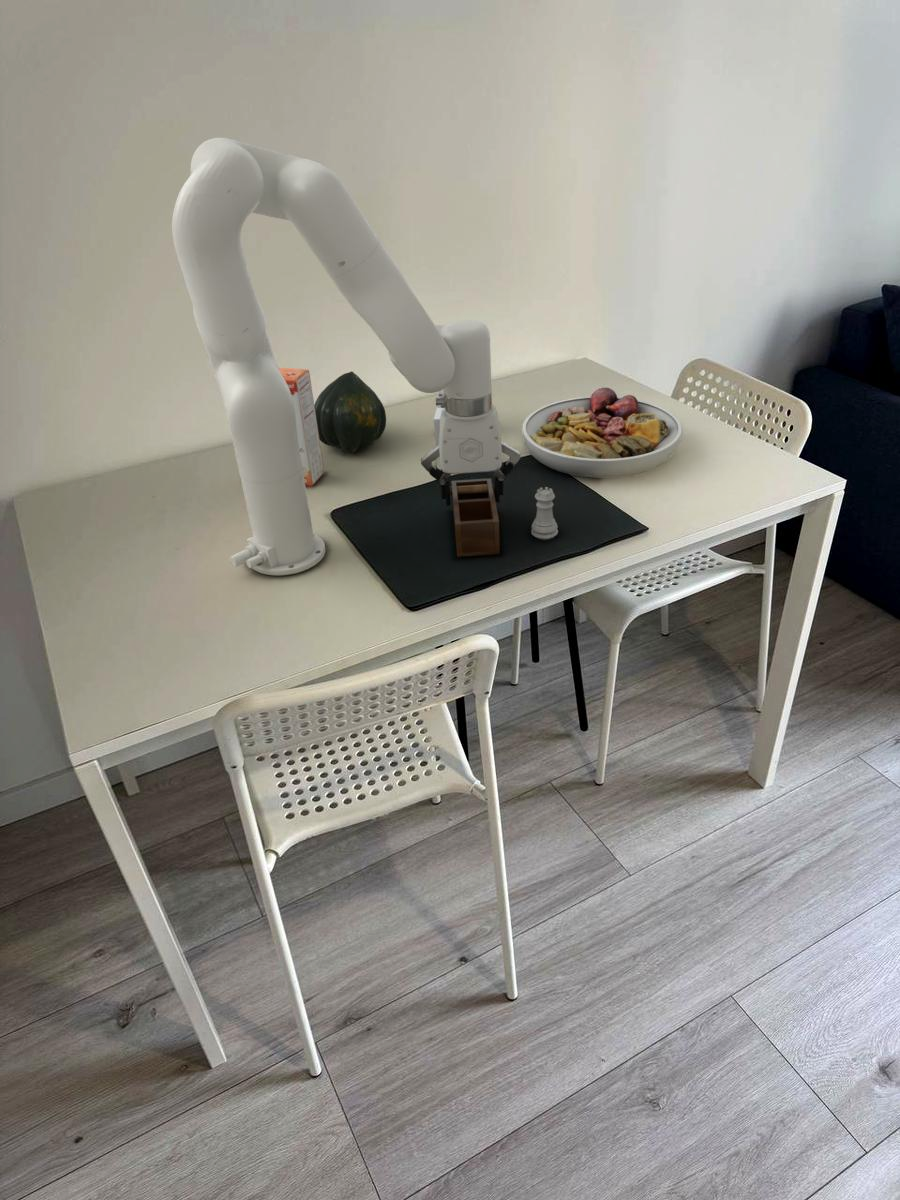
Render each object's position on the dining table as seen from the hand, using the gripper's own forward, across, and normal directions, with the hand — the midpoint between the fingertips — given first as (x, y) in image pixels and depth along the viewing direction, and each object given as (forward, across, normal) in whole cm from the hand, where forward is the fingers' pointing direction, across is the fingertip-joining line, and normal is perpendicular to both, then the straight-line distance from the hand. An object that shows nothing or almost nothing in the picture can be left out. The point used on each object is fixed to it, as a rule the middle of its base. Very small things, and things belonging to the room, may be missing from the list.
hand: (472, 499), depth 148 cm
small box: (+3, -1, +21) cm, 21 cm away
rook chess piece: (+3, +11, -8) cm, 14 cm away
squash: (+3, -23, +33) cm, 40 cm away
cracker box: (+3, -35, +20) cm, 40 cm away
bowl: (+3, +26, +23) cm, 35 cm away
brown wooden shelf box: (+3, 0, -6) cm, 7 cm away
